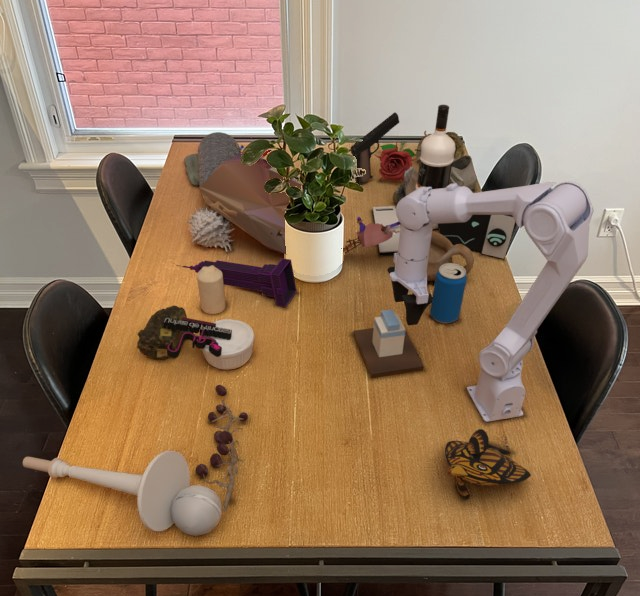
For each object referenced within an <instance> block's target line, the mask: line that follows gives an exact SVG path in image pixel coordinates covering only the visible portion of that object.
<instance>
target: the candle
mask: <svg viewBox="0 0 640 596" xmlns="http://www.w3.org/2000/svg"><path fill="white" fill-rule="evenodd" d="M196 281H197V288H198V296H199V303H200V309H201V310H202V311H203V312H204V313H205V314H208V315H216V314H220V313H222V312H223V311H225V310H226V308H227V307H226V306H227V303H226V295H225V285H224V283H223V274H222V272H221V271H220V270H219V269H217V268H216V267H214V266H213V265H212V266H209V267H202V269H201V270H200V271H199V272H198V273H196Z"/></svg>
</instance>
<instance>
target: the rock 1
mask: <svg viewBox="0 0 640 596" xmlns="http://www.w3.org/2000/svg"><path fill="white" fill-rule="evenodd" d="M183 317H184V318H188V315H187V313H186V309H185V308H184V307H182V306H180V307H179V306H178V305H171V306H168V307H166V308H161V309H159V310H157V311H155V312H154V313H153V314H151V316H150V317H149V319H148V321H147V323H146V324H145V327H144V328H143V329H140V330H139V331H138V332H137V336H138V341H137V344H136V345H137V346H136V348H137V349H138V350H139V352H140V353H141V354H142V355H143V356H145V357H149V358H151V359H160V360H162V359H167V358H169V356H168V355H167V345H168V344H169V343H170V342H172V350H173V351H175V350H176V349H177V347H178V344H179V341H180V337H181V335H182V334H183V333H185V331H180V330H176V331H174V329H167V326H166V329H164V319H165V318H170V319H171V318H172V319H177V322H178V320H182V318H183ZM187 332H189V329H188V331H187Z"/></svg>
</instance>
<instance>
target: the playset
mask: <svg viewBox="0 0 640 596" xmlns="http://www.w3.org/2000/svg"><path fill="white" fill-rule="evenodd" d="M356 223H357V224H358V225H359V231H356V233H355V234H356V237H357V238H353V239H350V238H348V240H346V241H345V242H346V244H347V243H349V244H347V245H345V247H343V253H344V254H346V255H347V254H349V253H350V251H352V250H354V249H357V247H359V246H360V245H361V247H362V248H363V249H364V248H368V247H374V246H378V244H380V243H382V242H385V241H387V240H389V239H390V238H391V237H393V236H392V235H394V234H396V233H398V232H400V231H396V230H392V231H390V232H389V231H388V230H389V229H391V228H392V227H395V226H398V225H400V227H401V223H400V222H399V221H398V222H396V223H393V224H391V225H386V226H383V225H382V224H379V223H377V224H375V223H374V222H370V223H368V224H367V225H365V223H363V219H362V218H361V217H360V216H357V218H356Z"/></svg>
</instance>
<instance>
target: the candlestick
mask: <svg viewBox="0 0 640 596" xmlns="http://www.w3.org/2000/svg"><path fill="white" fill-rule="evenodd" d="M22 460H23V461H22V466H23V468H26V469H31V470H35V471H39V472H45V473H48V475H49V477H50V478H51V479H54V480H55V479H58V478H64V477H66V476H69V478H71V479H76V480H80V481H84V482H86V483H91V484H94V485H97V486H101V487H105V488H108V489H112V490H115V491H119V492H122V493H126V494H130V495H133V496H137V497H136V499H137V500H136V501H137V502H136V503H137V511H138V516H139V518H140V520H141V523H142V524H143V525H144V526H145V527H146V528H147V529H149V530H150V531H152V532H153V531H154V532H163V531H166V530H168V529H169V528H171V527H172V526H173V525H175V523H174V521H173V519H172V514H171V508H172V503H173V501H174V499H175V497H176V495H177V494H178V493H179V492H180V491H181V490H183V489H185V488H186V487H189V486H191V473H190V467H189V465H188V462H187V460H186V457H184V456H183V454H182V453H181V452H179V451H175V450H165V451H162V452H160V453H158V454H157V455H156V456H155V457H154V458H153V459H152V460H151V461H150V462H149V463H148V464H147V466H146V468H145V470H144V471H143V472H142V473H143V474H135V473H129V472H121V471H114V470H107V469H101V468H100V469H99V468H93V467H84V466H79V465H78V466H77V465H70V464H69V463H68V462H66V461H64V460H63V459H62V458H60V457H54V458H53V459H52V460H47V459H43V458H38V457H33V456H25V457H24V458H23V459H22Z"/></svg>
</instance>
